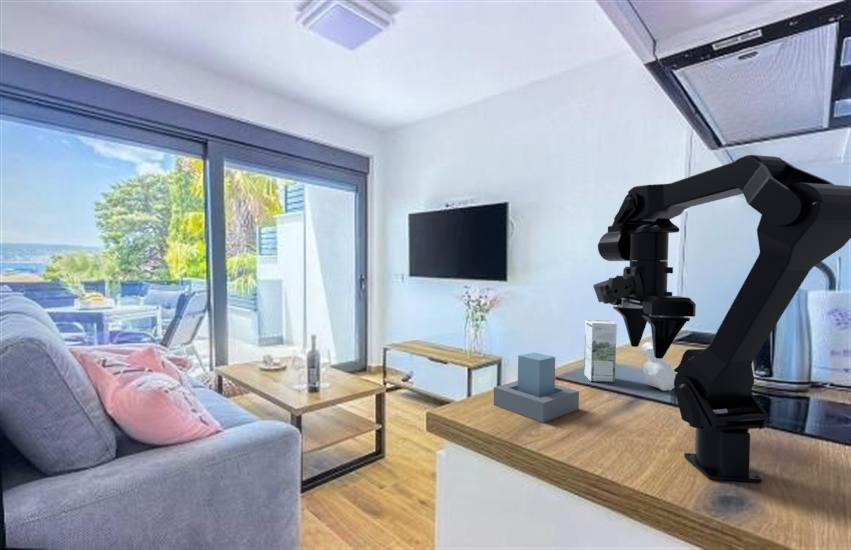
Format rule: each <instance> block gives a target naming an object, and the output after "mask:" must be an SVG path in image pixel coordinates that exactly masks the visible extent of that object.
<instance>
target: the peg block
mask: <svg viewBox="0 0 851 550" xmlns="http://www.w3.org/2000/svg"><path fill="white" fill-rule="evenodd" d="M517 381H518V391H520V392H523V393H527V394H530V395H533V396H536V397H539V398H542V397H545V396H548V395H551V394H554V393H555V385H556V356H552V355H549V354H543V353H538V352H530V353H524V354H519V355H517Z"/></svg>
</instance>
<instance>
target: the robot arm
mask: <svg viewBox="0 0 851 550" xmlns="http://www.w3.org/2000/svg"><path fill="white" fill-rule="evenodd" d="M740 195H743V196H744V198H745V201H746V204H748V205H749V206H750V207H751V208H752V209H753V210H755V211H756V212H758V213H759V214H760V219H759V222H758V224H757V225H758V226H757V228H756V233H757V235H756V236H757V242H758V249H759V253H758V255H757V258H756V259H755V261H754V264H753V265H752V267H751V269H750V270H749V272H748V274H747V276H746V278H745V279H744V281H743V283H742V285H741V287H740V289H739V291H738V293H737V295H736V296H735V298H734V299H733V302H732V304H731V306H730V307H729V309H728V310H727V312H726V314H725V316H724V318H723V320H722V321H721V323H720V325H719V327H718V329H717V331H716V332H715V335H714V336H713V338H712V340H711V342H710V344H709V345H707V347H706V348H690V349H689V348H688V349H686V350H685V351H684V353H683V354H682V357H681V359H680V362H679V364H678V365H677V367H676V368H673V371H674V373H676V374H675V379H674V386H675V387H674V391H675V397H676V401H677V403H678V404H677V405H678V408H679V412H680V416H681V420H682V421H684V422H686V423H688V425H689V427H691V428H695V444H694V446H695V447H694V448H695V449H694V450H695V453H690V452H685V453H684V454H683V455H684V456H683V457H684V458H685V460H687V461H689V463H691V464H692V465H693V466H694V467H695V468H696V469H697V470H699V471H700V472H701V473H702V474H703V475H704V476H705V477H706V478H708V479H711V480H716V481H717V480H720V481H737V482H751V483H752V482H753V483H754V482H755V483H762V482H763V478H762V476H760V475H758V474H757V473H756V472H755V471H753V470H752V469H750V463H751V462H750V461H751V459H750V458H751V457H750V455H751V433H750V432H749V430H754V429H759V430H763V429H765V427H766V425H767V423H768V422H769V419H770V415H769V414H768V412H767V411H766V410H765V408H764V407H763V406H762V405H761V403H760V401H759V400H758V399H757V397H756V396H755V395H754V393H753V392H752V389H753V386H754V384H755V375H754V370H753V363H754V360H755V359H756V357H757V355H758V354H759V353H760V350H762V347H763V346H764V345H765V343H766V341H767V339H768V338H769V337H770V335H771V333H772V331H773V330H774V328H775V327H776V325H777V324H778V322H779V320H780V319H781V317H782V316H783V314H784V313H785V311H786V310H787V308H788V306H789V305H790V303H791V302H792V300H793V299H794V297H795V295H796V293H797V291H799V289H800V287H801V286H802V284H803V283H804V281H805V279H806V277H807V276H808V274H809V273H810V271H811V270H812V269H813V268H815V266H816V265H818V264H820V263H821V262H823V261H824V260H826V259H827V258H828V257H831V256H832V255H833V254H834V253H836V252H838V251H839V250H841V249H843V247H845V245H846V244H848V242H849V241H850V240H851V185H843V184H834V183H833V182H831V181H829V180H826V179H825V178H822V177H821V176H817V175H815V174H812V173H811V172H807V171H805V170H803V169H800V168H798V167H795V166H794V165H793V164H791V163H789V162H787V161H786V160H783V159H782V158H781V157H779V156H773V155H772V156H771V155H761V154H760V155H758V154H757V155H756V154H750V155H748V154H747V155H745V156H743V157H742V156H741V157H739V158H738V159H736V160H735V161H732V162H729V163H727V164H723V165H721V166H717V167H715V168H712V169H708V170H705V171H704V172H700V173H699V172H698V174H693V175H691V176H689V177H685V178H683V179H680V180H679V179H678V180H675V181H674V182H670V183H660V184H659V183H658V184H645V185H636V186H633V187H631V188H630V189H629V190H628V192H627V194H626V195H625V197H624V200H623V201H622V203H621V205H620V207H619V210H618V211H617V213H616V215H615V216H614V218H613V222H612V224H611V225H609V226H607V232H606V233H604V234H603V235H602V236H601V238H600V239H599V242H598V244H597V251H598V255H600V257H601V258H602V259H603V260H604V261H605V260H606V261H607V262H629V265H628V266H625V268H623V270H622V271H623V272H622V273H623V274H622V275H616V276H615V277H610V278H608V279H607V280H604V281H600V282H598V283H594V284H593V286H592V287H593V290H594V292H595V294H596V295H595V296H596V299H597V301H598V303H603V304H607V305H608V304H609V305H613V306H612V308H613V310H615V311H616V312H618V314H620V315H621V316H622V317H623V318H622V319H623V321H624V325H625V329H626V331H627V335H628V339H629V342H630V343H629V344H630V346H631V347H634V348H638V347H639V345H640V342H641V341H642V339H643V334H644V332H645V329H646V326H647V323H648V324H649V325H650V331H651V339H652V343H653V350H654V356H655V358H660V359H662V358H663V357H664V358H665V356H666V353H667V352H668V350H669V349H670V347H671V345H672V344H673V342H674V340H676V337H677V336H678V334H679V333H680V332H681V330H682V329H683V328H684V326H685V325H686V324H687V322H690V321H691V317H692V318H695V317H696V313H697V312H696V307H697V306H696V305H697V304H696V302H694V301H693V300H692V299H691V297H688V296H687V297H685V296H679V295H673V291H668V274H674V267H672V266H671V267H670V266H669V262H668V260H669V234H674V233H675V234H676V233H679V232H680V228H679V226H677V225H676V224H674V223H673V222H672V221H671V220H672V219H674V218H676V217H678V216H681V215H682V214H683V212H684V211H685V210H686V209H689V208H692V207H694V206H700V205H704V204H707V203H711V202H716V201H718V200H720V201H721V200H723V199H728V198H732V197H735V196H740ZM664 355H665V356H664ZM714 410H716V411H717V410H726V412H715V411H714Z"/></svg>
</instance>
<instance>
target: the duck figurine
mask: <svg viewBox="0 0 851 550" xmlns="http://www.w3.org/2000/svg"><path fill="white" fill-rule="evenodd" d="M640 350H641V354H642V355H643V356H647V357H648V360H647V361H646V362H645V363H643V369H642V370H643V371H642V377H643V379H644V381H645V383H646V384H647V385H648V386H650V387H654V388H657V389H660V390H661V391H663V392H664V391H669V392H670V391H672V390H673V389H675V386H674V379H675V376H676V374H675V373H676V372H674V368H673V366H672V364H671V363H670V362H669V361H668V360H666V359H665V356H666V354H665V355H664V357H663V358H662V359H660V358H655V356H654V350H653V342H648V341H646V342H645V343H644V344H643V345H642V346H641V347H640Z"/></svg>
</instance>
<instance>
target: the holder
mask: <svg viewBox="0 0 851 550" xmlns="http://www.w3.org/2000/svg"><path fill="white" fill-rule="evenodd" d="M493 405H494V406H495V407H496V406H497V407H498V408H499V407H500V408H501V409H504V410H506V411H507V410H508V411H510V412H512V413H516V414H518V415H520V416H524V417H526V418H529V419H532V420H535V421H537V422H539V423H543V424H545V423H546V422H548V421H551V420H554V419H556V418H559V417H561V416H562V417H563V416H564V415H566V414H570V413H572V412H574V411H577V410H579V406H580V390H576V389H573V388H570V387H565V386H562V385H558V384H555V393H554V394H551V395H548V396H545V397H542V398H539V397H536V396H533V395H530V394H527V393H523V392H520V391H518V380H517V381H512V382H509V383H505V384H501V385H500V384H499V385H497V386H494V387H493Z"/></svg>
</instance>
